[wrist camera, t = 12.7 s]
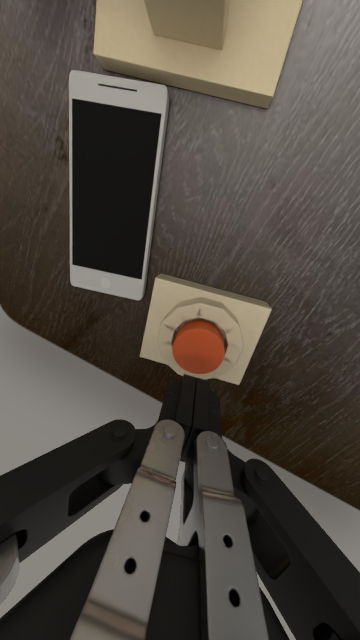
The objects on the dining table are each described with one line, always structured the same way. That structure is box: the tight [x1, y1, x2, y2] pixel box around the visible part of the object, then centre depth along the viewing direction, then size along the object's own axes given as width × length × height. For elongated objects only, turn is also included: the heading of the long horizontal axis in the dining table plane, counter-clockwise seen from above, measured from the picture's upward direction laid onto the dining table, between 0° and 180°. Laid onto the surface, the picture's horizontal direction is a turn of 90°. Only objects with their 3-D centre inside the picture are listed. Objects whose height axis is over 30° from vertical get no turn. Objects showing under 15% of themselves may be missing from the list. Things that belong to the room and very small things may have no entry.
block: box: [140, 274, 272, 385], centre depth 20 cm, size 10×8×4 cm
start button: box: [173, 320, 225, 374], centre depth 18 cm, size 4×4×2 cm
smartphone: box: [69, 70, 169, 301], centre depth 18 cm, size 7×16×1 cm, turn 169°
